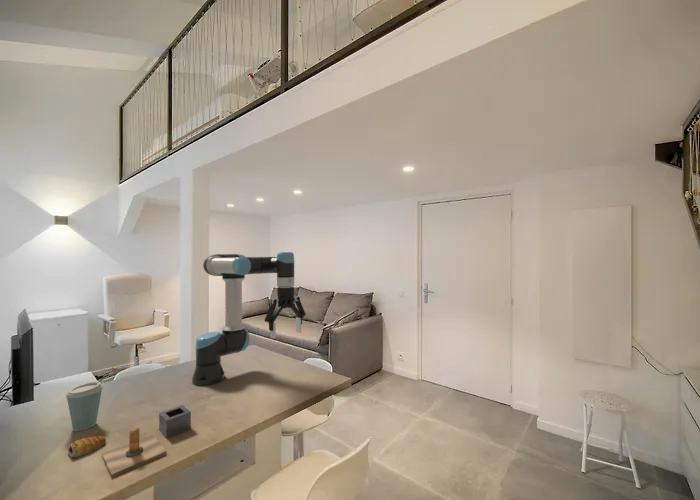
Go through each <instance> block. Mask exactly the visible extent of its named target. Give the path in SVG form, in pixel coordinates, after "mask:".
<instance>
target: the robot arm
mask: <svg viewBox="0 0 700 500" xmlns="http://www.w3.org/2000/svg"><path fill="white" fill-rule="evenodd" d="M295 263H296V262H295V254H294V253H293V252H292V251H291V252H290V251H284V252H283V251H280V252H277V254H276V256H254V257H253V256H245V255H243V254H239V253H231V254H230V253H228V254H227V253H226V254H224V253H223V254H219V253H218V254H211V255H210V256H209V255H208V257H206V258H205V260H204V261H203V264H202V266H203V270H204V272H205V273H207V274H208V275H210V276H213V277H221V278H222V280H223V281H224V287H225V288H224V289H225V291H224V292H225V294H224V296H225V298H224V299H225V301H224V302H225V304H224V305H225V306H224V307H225V309H224V311H225V313H224V314H225V318H224V319H225V320H224V321H225V323H224V324H225V326H224V327H222V329H221V330H222V332H220V331H218V330H217V331H216V330H215V331H209V332H206V333H203V334H200V335H199V336H197V338H196V340H195V369H194V372H193V374H192V377H191V383H192V385H195V386H209V385H214V384H217V383H220V382H221V381H223V380H224V379H225V371H224V369H223V365H222V363H221V361H222V360H221V358H222V357H224V356H228V355H233V354H239V353H240V352H243V351H245V350H246V349H247V348H248V346H249V343H250V334H249V331H248V330H247V329H246V327H245V325H243V288H242V287H243V281H244V280H245V277H246V275H256V274H257V275H261V274H276V286H277V288H276V289H277V290H276V295H277V299H275V298H272V299H271V300H270V305H269V308H268V311H267V313H266V316H265V317H264V322H266V323H268V331H270V333H269V334H270V338H271V339H276V337H277V336H276V335H277V334H276V332H277V331H276V330H277V329H276V328H277V327H276V322H275V321H276V320H277V318H278V316H279V315H280V314H281V312H282V310H284V309H291V311H293V313H294V314H295V315H296V317H295V333H300V334H301V333H302V325H303V318H304V317H305V316H306V314H307V313H306V311H305V310H304V306H303V304H302V302H301V297H300V296H297V295H296V296H295V287H294V286H295Z"/></svg>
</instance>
